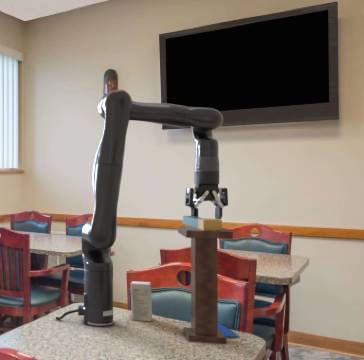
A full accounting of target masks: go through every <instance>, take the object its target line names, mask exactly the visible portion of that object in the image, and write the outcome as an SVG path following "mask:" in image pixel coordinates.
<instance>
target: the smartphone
mask: <svg viewBox="0 0 364 360" xmlns="http://www.w3.org/2000/svg"><path fill="white" fill-rule="evenodd" d="M218 329H219V330H220V331H221V332H222V334H223V335H224V336H225V337H226V339H228V338H229V339H236V338H238V335H237V334H236V333H234V332H233V331H232V330H230V329H229V328H228V327H226V326H225V325H224V324H222V323H221V322H220V321H218Z"/></svg>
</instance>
